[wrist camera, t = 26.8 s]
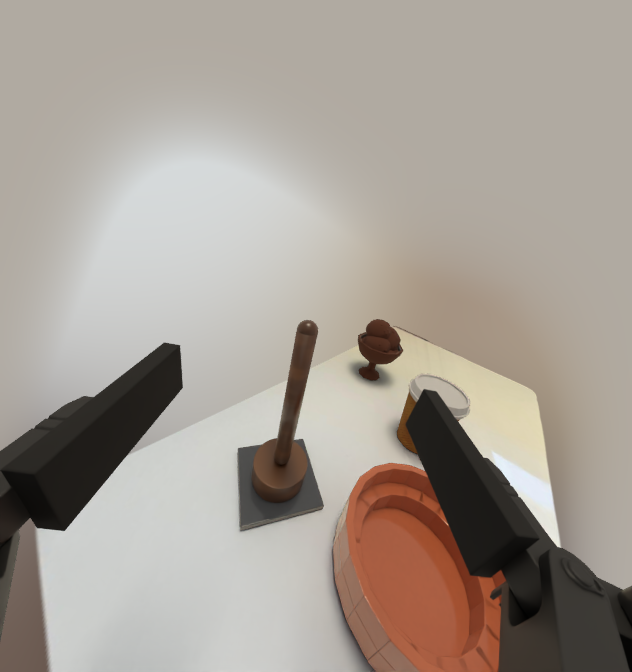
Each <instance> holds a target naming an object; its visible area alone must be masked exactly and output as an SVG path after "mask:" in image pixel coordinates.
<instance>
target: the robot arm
mask: <svg viewBox="0 0 632 672" xmlns="http://www.w3.org/2000/svg"><path fill="white" fill-rule="evenodd" d="M182 388H183V385H182V369H181V353H180V345H175V344H169V343H163V344H162V345H161V346H159V347H158V348H157V349H155V350H154V351H153V352H152V353H150V354H149V355H148V356H147V357H145V358H144V359H143V360H141V361H140V362H139V363H137V364H136V365H135V366H134V367H132V368H131V369H130V370H128V371H127V372H126V373H125V374H123V375H122V376H121V377H119V378H118V379H117V380H115V381H114V382H113V383H112V384H110V385H109V386H108V387H106V388H105V389H104V390H103V391H101V392H100V393H99V394H97V395H96V396H95V397H87V396H83V397H81V398H79V399H77V400H75V401H72V402H70V403H68V404H66V405H64V406H63V407H61V408H60V409H59V410H57V411H56V412H54V413H53V414H52V415H50V416H49V418H48V419H45V420H43V421H42V422H40V423H39V424H38V425H36V426H35V428H34V429H31V430H29V431H28V432H26V433H25V434H24V435H22V436H21V437H20V438H18V439H17V440H15V441H14V442H13V443H11V444H10V445H8V446H7V447H6V448H4V449H3V450H1V451H0V640H1V634H2V629H3V624H4V618H5V613H6V608H7V603H8V598H9V592H10V587H11V582H12V576H13V571H14V566H15V560H16V555H17V550H18V545H19V539H20V534H19V528H20V527H21V526H22V525H23V524H24V523H25V522H26V521H27V520H28V519H29V518H31V519H32V521H33V522H34V524H35V526H36V527H37V528H43V529H52V530H61V531H65V530H66V529H67V527H68V526H69V525H70V524H71V523H72V521H73V520H74V519H75V518H76V516H77V515H78V514H79V513H80V512H81V510H82V509H83V508H84V507H85V506H86V504H87V503H88V502H89V501H90V500H91V498H92V497H93V496H94V495H95V493H96V492H97V491H98V490H99V489H100V487H101V486H102V485H103V484H104V483H105V481H106V480H107V479H108V478H109V476H110V475H111V474H112V473H113V472H114V470H115V469H116V468H117V467H118V466H119V464H120V463H121V462H122V461H123V460H124V458H125V457H126V456H127V455H128V453H129V452H130V451H131V450H132V449H133V447H134V446H135V445H136V444H137V442H138V441H139V440H140V439H141V438H142V436H143V435H144V434H145V433H146V432H147V430H148V429H149V428H150V427H151V425H152V424H153V423H154V422H155V420H156V419H157V418H158V417H159V416H160V415H161V413H162V412H163V411H164V410H165V409H166V407H167V406H168V405H169V404H170V403H171V401H172V400H173V399H174V398H175V396H176V395H177V394H178V393H179V392H180V390H181V389H182ZM405 425H406V428H407V430H408V432H409V434H410V437H411V439H412V441H413V444H414V446H415V448H416V451H417V453H418V455H419V458H420V460H421V462H422V465H423V467H424V469H425V472H426V474H427V476H428V479H429V481H430V483H431V486H432V488H433V490H434V493H435V495H436V497H437V500H438V502H439V504H440V506H441V509H442V511H443V513H444V516H445V518H446V520H447V523H448V525H449V527H450V530H451V532H452V534H453V537H454V539H455V541H456V544H457V546H458V548H459V551H460V553H461V555H462V558H463V560H464V562H465V565H466V567H467V569H468V572H469V574H470V576H479V577H488V578H491V577H492V576H493V575H495V574H496V573H497V572H499V571H500V570H501V571H502V573H503V575H504V577H505V579H506V581H505V582H504V583H502V584H501V585H500V586H498V587H497V588H495V589H494V590H493V591H492V592H491V594H490V598H491V599H492V600H494V599H496V598H497V597H499V596H500V595H501V603H499V606H500V607H501V619H500V643H499V667H498V672H632V586H631V587H628V588H626V589H624V590H622V589H620V588H618V587H616V586H614V585H612V584H610V583H608V582H606V581H603V580H601V579H599V578H597V577H596V575H595V574H594V573H593V572H592V571H591V570H590V569H589V568H588V567H587V566H586V565H585V564H584V563H583V562H582V561H581V560H579V559H578V558H577V557H576V556H575V555H573V554H572V553H570V552H568V551H566V550H565V549H563V548H559V547H557V546H556V545H555V544H554V542H553V541H552V540H551V538H550V537H549V536H548V534H547V533H546V532H545V530H544V529H543V528H542V526H541V525H540V524H539V522H538V521H537V519H536V518H535V517H534V515H533V514H532V513H531V511H530V510H529V509H528V507H527V506H526V504H525V503H524V502H523V500H522V499H521V498H520V497H518V494H517V492H516V491H515V490H514V488H513V487H512V486H510V483H509V481H508V480H507V479H506V477H505V476H504V475H503V473H502V472H501V471H500V469H498V468H497V467H496V466H495V465H494V464H493V463H492V462H491V461H490V460H489V459H488V458H483V456H482V455H481V454H480V452H479V451H478V449H477V448H476V447H475V445H474V444H473V442H472V441H471V439H470V438H469V437H468V435H467V434H466V432H465V431H464V429H463V428H462V427H461V425H460V424H459V422H458V421H457V419H456V418H455V417H454V415H453V414H452V412H451V411H450V410H449V408H448V407H447V405H446V404H445V402H444V401H443V400H442V398H441V397H440V395H439V394H438V392H437V391H433V390H427V389H423V391H422V393H421V395H420V397H419V399H418V401H417V403H416V404H415V406H414V408H413V410H412V412H411V414H410V416H409V418H408V420H407V422H406V423H405Z"/></svg>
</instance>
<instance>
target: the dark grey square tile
mask: <svg viewBox="0 0 632 672" xmlns="http://www.w3.org/2000/svg"><path fill="white" fill-rule="evenodd" d="M294 442H296V443H297V444H298V445H299V446H300V447H301V448H302V449H303V450H304V452H305V454H306V457H307V470H306V474H305V477H304V481H303V484H302V487H301V489H300V491H299V492H298V493H297V494H296V495H295V496H294V497H293V498H292V499H290V500H288V501H285V502H281V503H273V502H269V501H266V500H264V499H263V498H261V497H260V496H259V495H258V494H257V492H256V491H255V489H254V487H253V484H252V469H253V461H254V456H255V454H256V452H257V450H258V449H259V448H260V447H261V446H262V445H256V446H249V447H243V448H238V476H239V507H240V531H242V530H245V529H249V528H253V527H257V526H260V525H264V524H268V523H271V522H275V521H279V520H282V519H286V518H290V517H294V516H297V515H301V514H305V513H308V512H312V511H316V510H320V509H323V506H324V505H323V501H322V498H321V495H320V492H319V489H318V485H317V482H316V479H315V476H314V473H313V469H312V466H311V463H310V460H309V457H308V453H307V450H306V447H305V444H304V441H303V439H298V440H294Z"/></svg>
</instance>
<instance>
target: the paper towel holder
mask: <svg viewBox="0 0 632 672" xmlns="http://www.w3.org/2000/svg"><path fill="white" fill-rule="evenodd" d="M317 334H318V327H317V325H316V324H315V323H314V322H313V321H311V320H304V321H302V322H301V323H300V324H299V325H298V327H297V332H296V337H295V343H294V349H293V354H292V360H291V365H290V371H289V377H288V382H287V387H286V393H285V399H284V404H283V410H282V415H281V421H280V426H279V432H278V438H276V439H272V440H269V441H267V442H265V443H264V444H263V445H262V446H261V447H260V448H259V449H258V450H257V452H256V454H255V456H254V461H253V469H252V484H253V487H254V489H255V491H256V492H257V494H258V495H259V496H260V497H261V498H263V499H264V500H266V501H269V502H273V503H281V502H285V501H288V500H290V499H292V498H293V497H294V496H295V495H296V494H297V493H298V492H299V491H300V489H301V487H302V484H303V481H304V477H305V474H306V470H307V457H306V454H305V452H304V450H303V449H302V448H301V447H300V446H299V445H298V444H297V443H296V442H294V436H295V432H296V427H297V423H298V419H299V414H300V410H301V405H302V401H303V396H304V392H305V388H306V383H307V379H308V374H309V370H310V365H311V361H312V356H313V352H314V347H315V343H316V338H317Z"/></svg>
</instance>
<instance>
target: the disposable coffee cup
mask: <svg viewBox="0 0 632 672" xmlns="http://www.w3.org/2000/svg"><path fill="white" fill-rule="evenodd" d="M423 389H427V390H433V391H437V392H438V394H439V395H440V397H441V398H442V400H443V401H444V402H445V404H446V405H447V407H448V408H449V410H450V411H451V412H452V414H453V415H454V417H455V418H456V419H457V421H459V420H460V419H462V418H464V417H466V416H467V415H468V414H469V412H470V408H469V406H470V399H469V398H468V396H467V395H466V394H465V393H464V391H463V390H461V389H460V388H459V387H458V386H456V385H455V384H453V383H452V382H450V381H448V380H446V379H444V378H441V377H438V376H435V375H431V374H419V375H417V376H416V377H415V378H414V379H412V380H411V381H410V383H409V394H408V397H407V400H406V404H405V407H404V410H403V414H402V417H401V420H400V424H399V427H398V430H397V436H398V438H399V440H400V442H401V443H402V444H403V445H404V446H405V447H406V448H407V449H408V450H410V451H412V452H414V453H416V454H418V453H417V451H416V448H415V446H414V444H413V441H412V439H411V437H410V434H409V432H408V430H407V428H406V425H405V423H406V422H407V420H408V418H409V416H410V414H411V412H412V410H413V408H414V406H415V404H416V403H417V401H418V399H419V397H420V395H421V393H422V391H423Z"/></svg>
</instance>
